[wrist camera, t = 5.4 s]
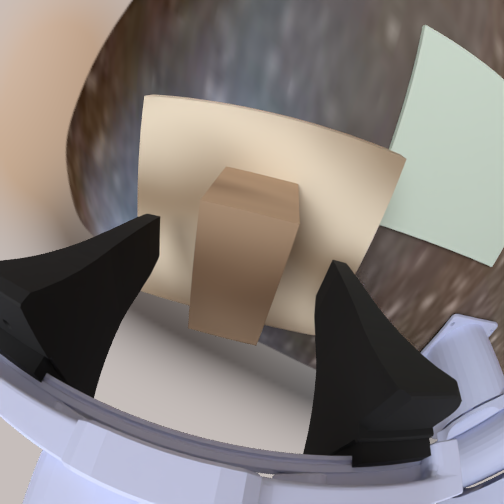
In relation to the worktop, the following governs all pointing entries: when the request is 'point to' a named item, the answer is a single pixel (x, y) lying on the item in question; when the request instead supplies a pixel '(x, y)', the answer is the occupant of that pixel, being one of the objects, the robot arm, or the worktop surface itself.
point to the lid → (254, 210)
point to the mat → (451, 152)
